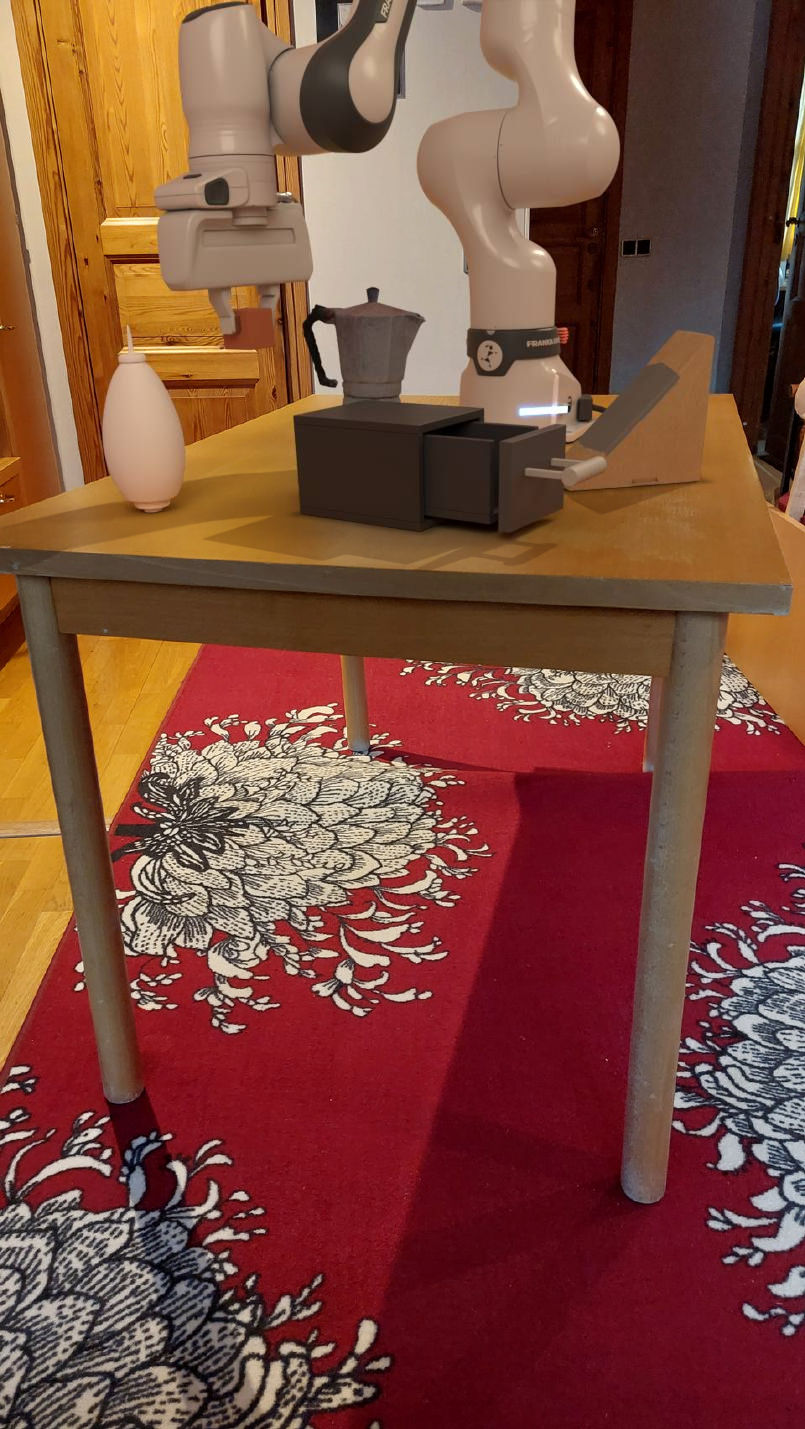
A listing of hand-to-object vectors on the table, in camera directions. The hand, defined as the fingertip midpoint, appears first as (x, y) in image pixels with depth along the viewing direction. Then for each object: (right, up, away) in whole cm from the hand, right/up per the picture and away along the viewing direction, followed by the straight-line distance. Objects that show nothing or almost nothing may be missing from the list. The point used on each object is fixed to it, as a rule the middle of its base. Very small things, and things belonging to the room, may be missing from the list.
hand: (248, 331), depth 109 cm
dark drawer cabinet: (+16, -22, -10) cm, 29 cm away
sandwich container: (+41, -16, +1) cm, 44 cm away
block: (0, -1, +1) cm, 2 cm away
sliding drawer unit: (+26, -24, -16) cm, 39 cm away
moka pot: (+13, -11, +15) cm, 22 cm away
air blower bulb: (-9, -21, -7) cm, 24 cm away
